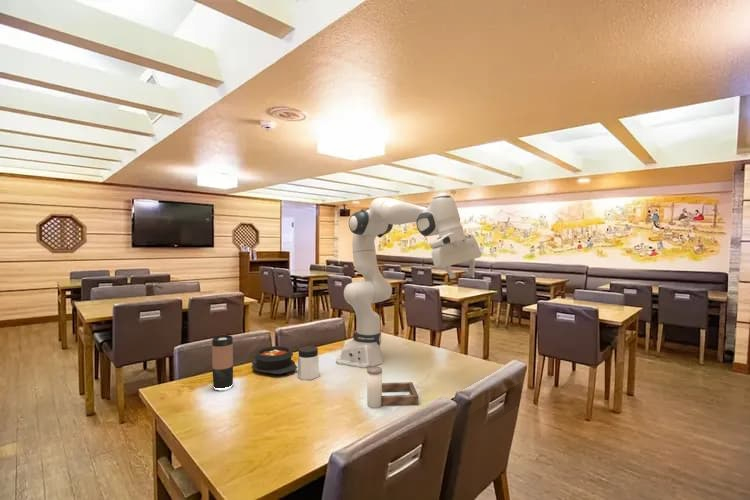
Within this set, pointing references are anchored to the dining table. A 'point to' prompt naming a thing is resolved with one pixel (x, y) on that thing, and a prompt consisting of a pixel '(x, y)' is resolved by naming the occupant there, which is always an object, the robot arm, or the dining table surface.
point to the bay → (399, 399)
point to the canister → (374, 387)
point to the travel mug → (222, 361)
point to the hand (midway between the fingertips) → (463, 275)
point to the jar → (308, 363)
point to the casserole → (274, 360)
